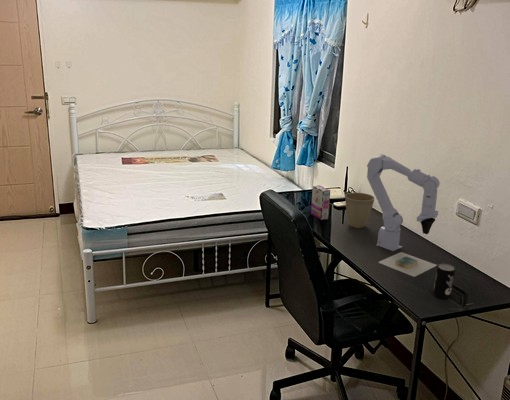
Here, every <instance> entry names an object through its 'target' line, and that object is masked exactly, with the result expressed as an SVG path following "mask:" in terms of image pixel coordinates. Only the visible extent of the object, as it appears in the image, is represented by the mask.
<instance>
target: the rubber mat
mask: <svg viewBox="0 0 510 400" xmlns="http://www.w3.org/2000/svg"><path fill="white" fill-rule="evenodd" d="M404 257H409V258H412V259H414V260H417V261H418V264H417V265H415V266H413V267H411V268H409V269H406V268H403V267H401V266H398V265H395V261H397V260H399V259H401V258H404ZM377 263H378V264H381V265H383V266H385V267H388V268H391V269H393V270H396V271H399V272H401V273H403V274H406V275H408V276H411V277H414V278H415V277H417V276H419V275H421V274H423V273H425V272H427V271H429V270H431V269H433V268H435V267H436V266H438V264H436V263H432V262H430V261H427V260H424V259H421V258H419V257H416V256H413V255H410V254H408V253H405V252H403V251H400V252H398V253H396V254H394V255H391V256H388V257H386V258H385V259H382V260H380V261H377Z"/></svg>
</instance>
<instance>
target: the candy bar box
mask: <svg viewBox="0 0 510 400" xmlns="http://www.w3.org/2000/svg"><path fill="white" fill-rule="evenodd" d="M311 190H312V193H311V205H310V206H311V207H310V215H312V216H314V217H315V218H317V219H319V220H320V221H324V220H329V214H330V202H331V201H330V200H331V190H330V189H328V188H326V187H324V186H322V185H319V184H318V185H312V189H311Z"/></svg>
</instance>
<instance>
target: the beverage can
mask: <svg viewBox="0 0 510 400" xmlns="http://www.w3.org/2000/svg"><path fill="white" fill-rule="evenodd" d="M437 266H438V267H436V271H435V277H434V278H435V279H434V283H433V285H434V286H433V290H432V293H433V295H434V296H435V297H436V298H438V299H441V298H442V299H441V300H447V299H450V298H451V297H452V294H453V288H454V283H455V276H456V270H455V267H454V266H453V265H451V264H449V263H440V264H437Z"/></svg>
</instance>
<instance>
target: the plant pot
mask: <svg viewBox="0 0 510 400" xmlns="http://www.w3.org/2000/svg"><path fill="white" fill-rule="evenodd" d="M375 198H376V197H375V196H373V195H371V194H369V193H366V192H365V193H362V192H347V193H346V194H345V195H344V200H345V208H346V209H345V210H346V215H347V219H348V223H349V224H348V225H349V226H350V227H353V228H356V229H362V228H364V227H365V226H366V223H367V221H368V220H369V218H370V214H371V212H372V209H373V205H374V202H375V200H376V199H375Z"/></svg>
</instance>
